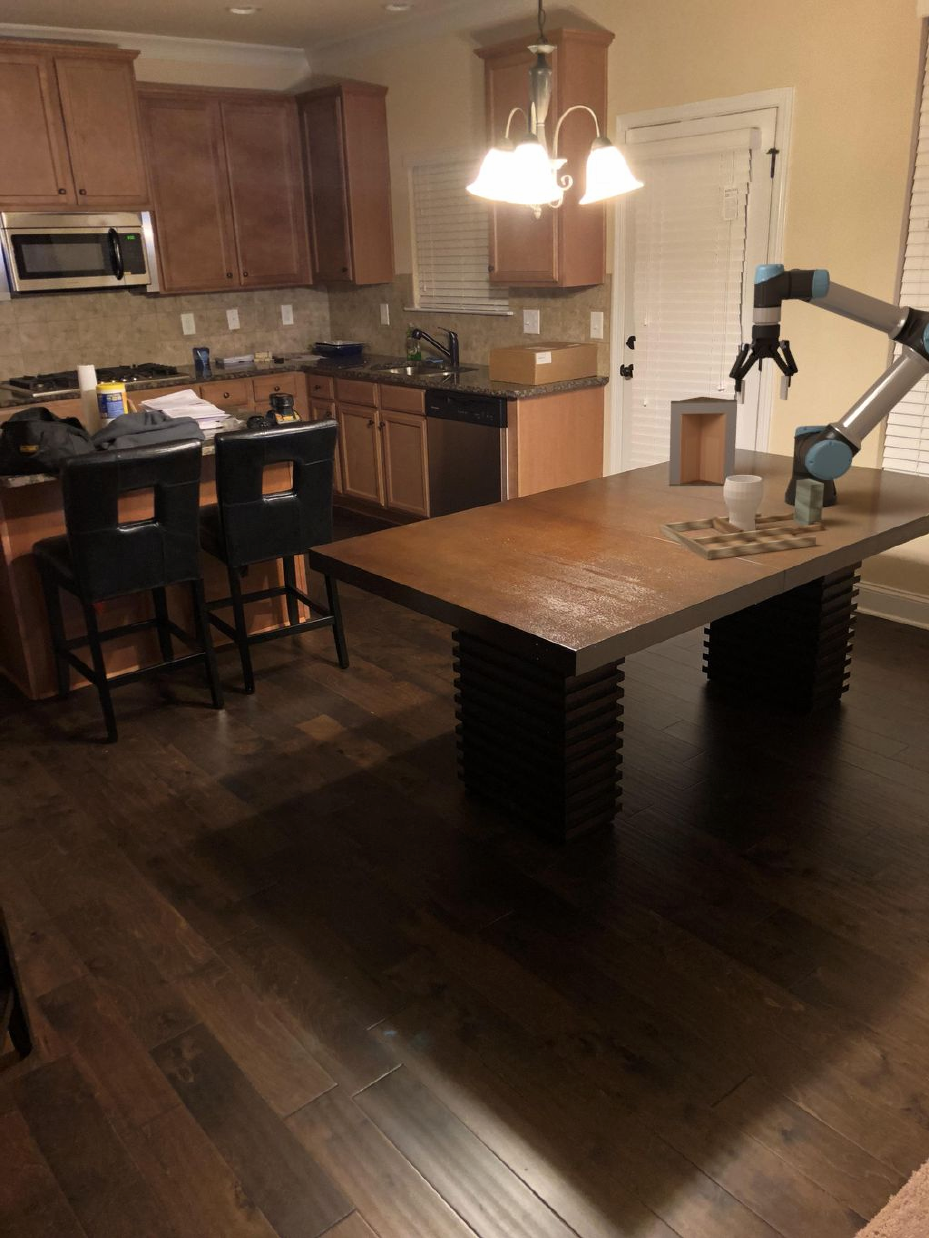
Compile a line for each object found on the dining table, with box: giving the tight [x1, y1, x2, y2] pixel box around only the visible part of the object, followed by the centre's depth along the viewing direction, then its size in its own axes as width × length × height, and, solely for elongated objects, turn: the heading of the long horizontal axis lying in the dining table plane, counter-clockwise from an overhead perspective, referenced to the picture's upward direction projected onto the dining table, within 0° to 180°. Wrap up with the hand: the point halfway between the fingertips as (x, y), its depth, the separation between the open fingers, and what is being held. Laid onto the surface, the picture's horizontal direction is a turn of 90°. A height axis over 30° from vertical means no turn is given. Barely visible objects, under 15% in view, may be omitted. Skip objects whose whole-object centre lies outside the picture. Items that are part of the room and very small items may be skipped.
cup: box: [722, 474, 765, 532], centre depth 268 cm, size 11×11×15 cm
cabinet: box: [668, 396, 738, 487], centre depth 324 cm, size 21×10×28 cm, turn 77°
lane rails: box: [659, 512, 817, 561], centre depth 264 cm, size 31×28×2 cm
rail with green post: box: [711, 479, 826, 535], centre depth 270 cm, size 27×15×12 cm, turn 104°
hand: (762, 401), depth 276 cm, fingers open, 13 cm apart
